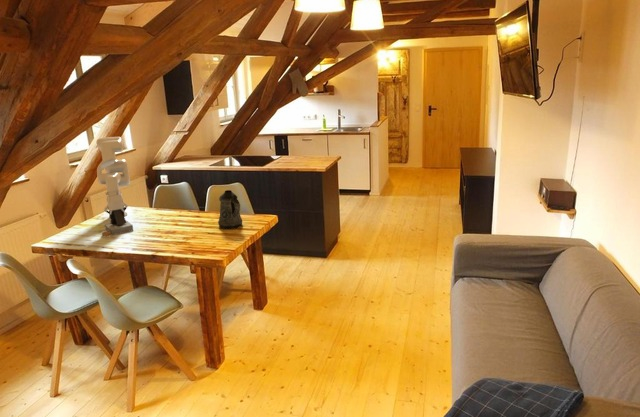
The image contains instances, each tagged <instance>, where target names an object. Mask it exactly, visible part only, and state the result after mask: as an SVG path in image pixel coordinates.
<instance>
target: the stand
mask: <svg viewBox="0 0 640 417" xmlns="http://www.w3.org/2000/svg"><path fill="white" fill-rule="evenodd" d="M104 228H105V231H107V230H108V231H110V232H111V236H115V235H119V234H124V233H128V232H132V231H133V232H134V227H133V224H132V223H131V222H129V221H127V220H126V223H125V224H122V225H113V224H110V222H108V223H104Z"/></svg>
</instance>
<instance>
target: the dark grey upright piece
mask: <svg viewBox="0 0 640 417" xmlns="http://www.w3.org/2000/svg"><path fill="white" fill-rule="evenodd" d="M218 199H219V202H220V205H219V206H220V207H219V217H218V221H217V223H218V227H219V228H220V229H222V230H235V229H238V227H239V228H241V227H242V226H243V219H242V216H241V213H240V211H241V204H240V201H239V199H238V195H236V194H235V193H234V192H233V191H232V190H230V189H229V190H227V189H226V190H225V191H224V192H223V193H222V194H221V195H220V196H219V198H218ZM240 226H241V227H240ZM234 228H235V229H234Z"/></svg>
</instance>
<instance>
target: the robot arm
mask: <svg viewBox="0 0 640 417" xmlns="http://www.w3.org/2000/svg"><path fill="white" fill-rule="evenodd" d="M96 146H97V148H98V150H99V151H100V154H101V159H102V161H101V162H100V163H98V166H97V169H96V174H97V182H98V183H99V184H100V186H101V185H102V186H104V185H105V187H106V192H104V195H105V196H106V206H105V207H104V208H103V211H104V212H106V213H107V214H109V219H110V221H111V220H113V215H112V211H114V210H119V209H121V210H122V215H123V216H124V217H126V216H127V215H128V212H126V210H127V209H128V207H129V205H128V204H126V203H125V201H124V198H123V193H122V191H121V190H120V188H124V187H129V186H131V175H130V171H129V165H128V164H129V163H128V161H127V160H126V159H124V158H123V159H117V156H116V153H120V152H123V151H124V140H123V138H122V137H121V136H109V137H100V138H97V139H96ZM103 170H105V173H102V172H103Z"/></svg>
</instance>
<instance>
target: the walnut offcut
mask: <svg viewBox="0 0 640 417" xmlns="http://www.w3.org/2000/svg"><path fill="white" fill-rule="evenodd" d="M101 236H102V237H103V238H108V237H112V235H111V232H110V231H108V230H104V231H101Z"/></svg>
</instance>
